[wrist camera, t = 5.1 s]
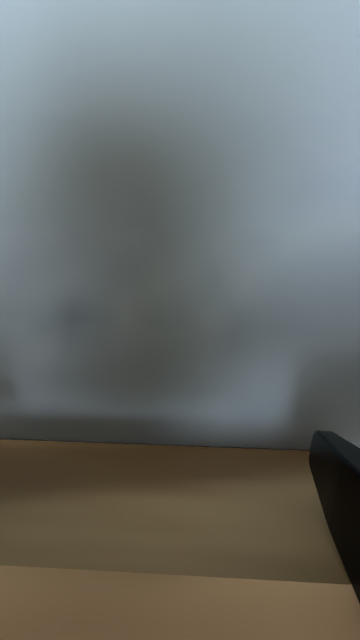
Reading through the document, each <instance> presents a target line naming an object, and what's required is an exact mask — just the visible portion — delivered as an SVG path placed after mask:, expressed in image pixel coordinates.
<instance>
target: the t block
mask: <svg viewBox="0 0 360 640" xmlns="http://www.w3.org/2000/svg"><path fill="white" fill-rule="evenodd" d="M309 454H310V451H309V450H281V449H254V448H227V447H200V446H173V445H145V444H118V443H91V442H64V441H36V440H9V439H0V640H360V604H359V601H358V599H357V597H356V594H355V592H354V589H353V587H352V584H351V582H350V580H349V577H348V575H347V572H346V570H345V568H344V565H343V563H342V560H341V558H340V555H339V553H338V551H337V548H336V546H335V543H334V541H333V538H332V536H331V533H330V531H329V528H328V525H327V522H326V519H325V516H324V513H323V509H322V506H321V503H320V499H319V496H318V493H317V490H316V486H315V483H314V480H313V476H312V473H311V470H310V466H309Z"/></svg>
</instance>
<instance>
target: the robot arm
mask: <svg viewBox="0 0 360 640" xmlns="http://www.w3.org/2000/svg"><path fill="white" fill-rule="evenodd" d="M309 466H310V470H311V473H312V476H313V480H314V483H315V486H316V490H317V493H318V496H319V499H320V503H321V506H322V509H323V513H324V516H325V519H326V522H327V525H328V528H329V531H330V533H331V536H332V538H333V541H334V543H335V546H336V548H337V551H338V553H339V555H340V558H341V560H342V563H343V565H344V568H345V570H346V572H347V575H348V577H349V580H350V582H351V584H352V587H353V589H354V592H355V594H356V597H357V599H358V601H359V604H360V448H358V447H357V446H355V445H353V444H352V443H350V442H348V441H347V440H345V439H344V438H342V437H340V436H339V435H337V434H335V433H334V432H332V431H322V430H316V431H315V432H314V434H313V437H312V443H311V448H310V454H309Z"/></svg>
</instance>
